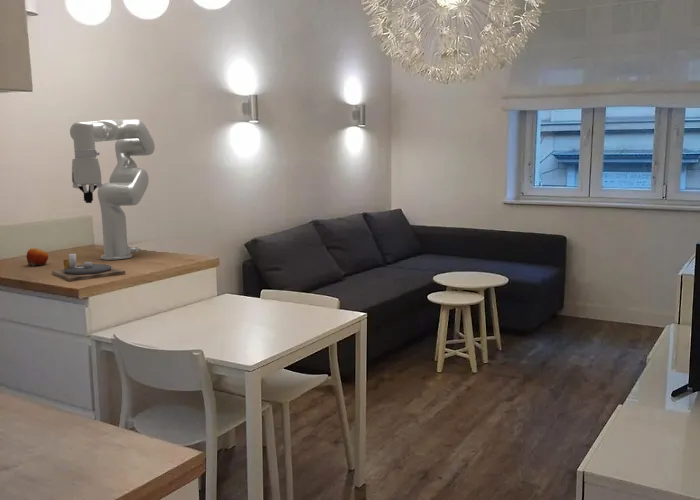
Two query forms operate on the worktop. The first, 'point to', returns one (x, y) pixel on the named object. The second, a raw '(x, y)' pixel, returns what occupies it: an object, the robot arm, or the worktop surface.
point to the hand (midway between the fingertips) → (88, 202)
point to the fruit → (36, 257)
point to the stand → (73, 277)
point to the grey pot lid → (85, 267)
